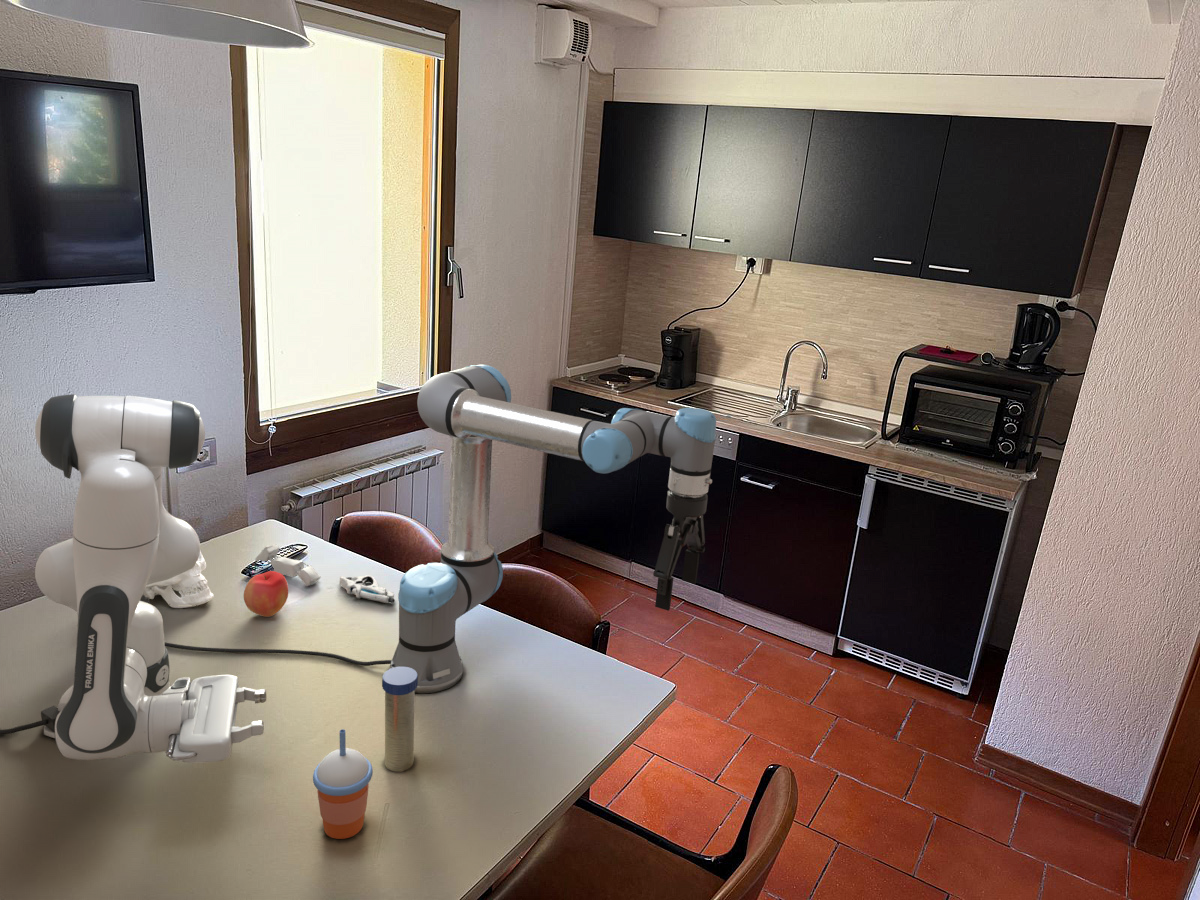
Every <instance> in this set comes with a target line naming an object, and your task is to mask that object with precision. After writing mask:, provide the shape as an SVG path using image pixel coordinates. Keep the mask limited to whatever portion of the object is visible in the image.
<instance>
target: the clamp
mask: <svg viewBox="0 0 1200 900" xmlns="http://www.w3.org/2000/svg"><path fill="white" fill-rule="evenodd" d="M280 549H281V547H279V546H278V545H277V544H272V545H266V546H264V547H263V549H262V550H261V551H260V552H259V554H258V555H257V556H256V557H255V559H254V562H255V563H256V561H259V560H262V561H268V560H271V562H270V563H269V564H271V565H272V566H273V568H274V571H275V572H278V573H281V574H282V575H283V576H288V577H292V578H296V577H298V578H299V579H300V580H301V582H303V584H304V585H305V587H309V586H312V585H314V584H316V583H318V582H319V580H320V579H321V578H322V577H321V575H320V574H319V573H318V572H317V570H315V569H314V568H313V566H312V565H310V564H309V565H308V564H307V563H305V562H304V561H303V560H301V559H300V560H299V559H292V558H289V557H285V556H278V553H279V551H280ZM273 558H274V559H273ZM272 559H273V560H272ZM305 566H306V567H305ZM270 571H271V570H270Z"/></svg>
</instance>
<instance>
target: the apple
mask: <svg viewBox="0 0 1200 900" xmlns="http://www.w3.org/2000/svg"><path fill="white" fill-rule="evenodd" d="M288 597H289V584H288V581H287V579H286V577H285V575H282V574H281V573H278V572H275V571H268V570H267V571H266V572H264V573H259V574H255V575H254V576H253V577H251V578H250V579H249V580H248V582H247V583H246V585H245V587H244V590H243V601H244V604H245V607H247V609H248V610H249V611H250V612H252V613H253V614H255V615H257V616H261V617H265V618H269V617H273V616H275V615H276V614H278V613H279V612H280V611H281V610H282V609H283V607H284V606H285V605H286V603H287V600H288Z"/></svg>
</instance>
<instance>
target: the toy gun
mask: <svg viewBox="0 0 1200 900" xmlns="http://www.w3.org/2000/svg"><path fill="white" fill-rule="evenodd" d="M338 583H339V586H340V587H341V588H343V589H345V590H346V593H347V594H348V595H354V596H355V598H356V599H361V598H362V599H365V600H369V601H375V602H380V603H384V604H394V603H395V593H394V592H392V591H389V590H387V589H386V588H385V587H382V586H379V584H378V581H377V580H376V578H375V577H374V576H372V575H369V574H368V575H362V576H361V575H360V576H350V577H345V576H340V577H339V581H338ZM367 583H370V584H369V585H366V584H367Z"/></svg>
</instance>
